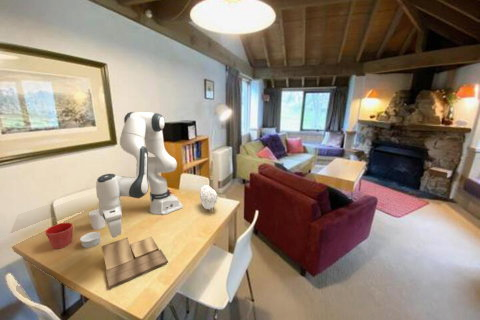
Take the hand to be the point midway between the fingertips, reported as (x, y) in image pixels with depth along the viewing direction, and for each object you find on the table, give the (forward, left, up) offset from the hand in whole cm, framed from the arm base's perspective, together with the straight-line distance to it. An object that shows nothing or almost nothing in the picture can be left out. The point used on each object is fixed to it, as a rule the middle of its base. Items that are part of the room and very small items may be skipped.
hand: (114, 235), depth 100 cm
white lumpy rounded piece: (-61, -15, -12) cm, 64 cm away
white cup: (+4, -35, -12) cm, 38 cm away
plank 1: (0, +3, -8) cm, 9 cm away
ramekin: (+9, -19, -12) cm, 25 cm away
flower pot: (+21, -27, -12) cm, 36 cm away
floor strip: (-6, +15, -12) cm, 20 cm away
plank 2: (-12, +2, -12) cm, 17 cm away
